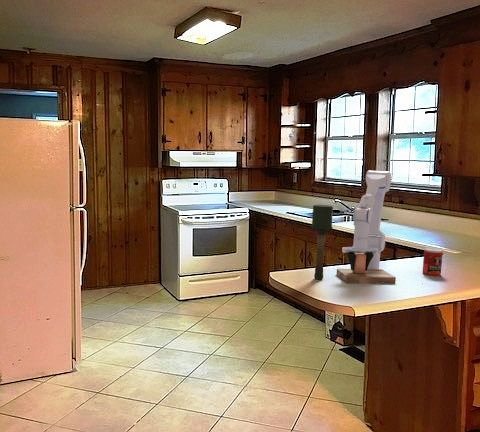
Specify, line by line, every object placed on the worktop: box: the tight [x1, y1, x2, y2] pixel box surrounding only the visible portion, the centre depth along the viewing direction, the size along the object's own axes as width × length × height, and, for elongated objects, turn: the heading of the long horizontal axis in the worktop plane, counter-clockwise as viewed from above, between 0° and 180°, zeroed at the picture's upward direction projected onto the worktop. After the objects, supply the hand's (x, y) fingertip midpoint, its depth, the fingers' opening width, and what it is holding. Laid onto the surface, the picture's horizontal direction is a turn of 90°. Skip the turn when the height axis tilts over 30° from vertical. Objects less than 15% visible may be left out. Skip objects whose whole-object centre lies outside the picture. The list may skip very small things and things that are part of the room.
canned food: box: [422, 247, 444, 277], centre depth 230 cm, size 8×8×11 cm
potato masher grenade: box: [310, 204, 334, 281], centre depth 211 cm, size 8×9×30 cm
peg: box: [353, 253, 366, 274], centre depth 215 cm, size 5×5×10 cm
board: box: [336, 268, 397, 284], centre depth 216 cm, size 14×20×2 cm
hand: (358, 270), depth 215 cm, fingers closed on peg, 5 cm apart
